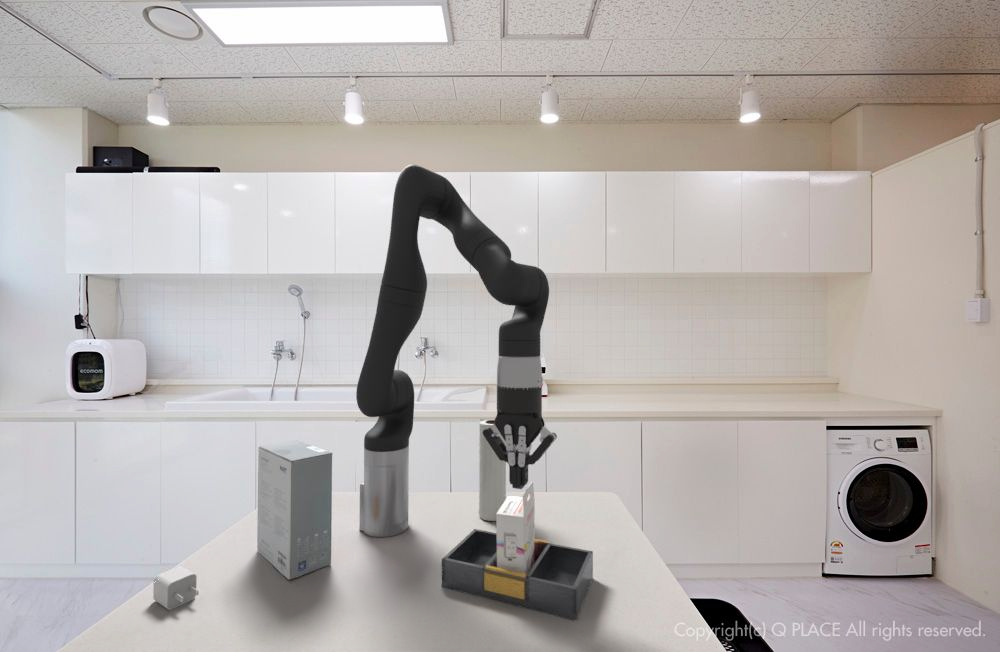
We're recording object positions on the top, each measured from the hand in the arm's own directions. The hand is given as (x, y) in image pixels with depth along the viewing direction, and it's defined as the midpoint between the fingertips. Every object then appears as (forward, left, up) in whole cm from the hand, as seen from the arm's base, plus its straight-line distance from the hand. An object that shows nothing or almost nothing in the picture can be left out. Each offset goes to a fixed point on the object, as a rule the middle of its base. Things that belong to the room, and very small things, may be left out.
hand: (518, 487), depth 75 cm
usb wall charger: (-46, -26, -16) cm, 55 cm away
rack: (0, 0, -16) cm, 16 cm away
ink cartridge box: (0, 0, -15) cm, 15 cm away
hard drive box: (-41, -9, -16) cm, 45 cm away
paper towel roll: (-15, +23, -16) cm, 32 cm away
